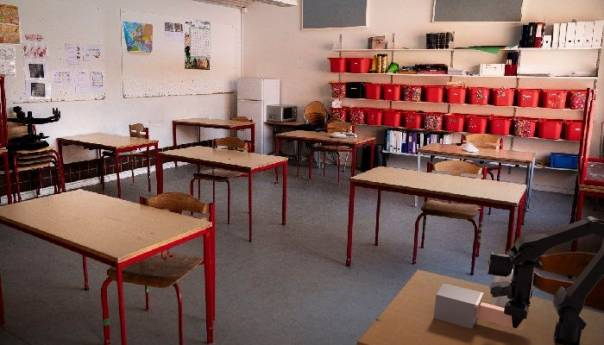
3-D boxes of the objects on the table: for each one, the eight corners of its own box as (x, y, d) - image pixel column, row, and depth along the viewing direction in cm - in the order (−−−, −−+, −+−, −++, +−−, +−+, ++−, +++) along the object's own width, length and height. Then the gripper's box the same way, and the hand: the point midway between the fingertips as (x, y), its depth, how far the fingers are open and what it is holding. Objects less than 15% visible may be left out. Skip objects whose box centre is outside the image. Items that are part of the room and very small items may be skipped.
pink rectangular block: (522, 327, 153) (524, 313, 152) (521, 330, 151) (523, 316, 150) (468, 312, 161) (470, 299, 160) (467, 315, 159) (468, 302, 158)
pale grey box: (480, 316, 163) (483, 292, 161) (474, 329, 154) (478, 305, 152) (441, 305, 169) (443, 283, 167) (433, 318, 160) (436, 294, 158)
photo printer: (507, 297, 177) (511, 264, 174) (518, 302, 173) (523, 269, 171) (488, 304, 171) (493, 270, 169) (499, 309, 168) (504, 275, 165)
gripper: (498, 262, 161) (492, 306, 165) (488, 283, 145) (482, 331, 149) (536, 270, 156) (529, 316, 160) (530, 292, 140) (522, 343, 144)
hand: (515, 325), depth 153 cm, fingers closed on pink rectangular block, 2 cm apart
